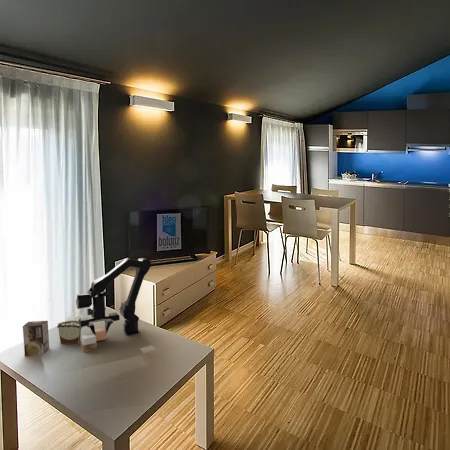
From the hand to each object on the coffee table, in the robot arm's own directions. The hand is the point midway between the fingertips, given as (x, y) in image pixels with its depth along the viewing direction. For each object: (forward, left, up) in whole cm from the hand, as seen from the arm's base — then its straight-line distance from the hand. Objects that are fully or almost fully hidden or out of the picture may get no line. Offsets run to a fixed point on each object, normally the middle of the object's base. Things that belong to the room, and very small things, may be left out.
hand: (100, 336), depth 187 cm
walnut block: (+7, +8, -2) cm, 11 cm away
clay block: (0, 0, -1) cm, 1 cm away
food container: (+12, -5, -2) cm, 13 cm away
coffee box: (+28, -2, -5) cm, 29 cm away
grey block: (+7, +8, +1) cm, 11 cm away
